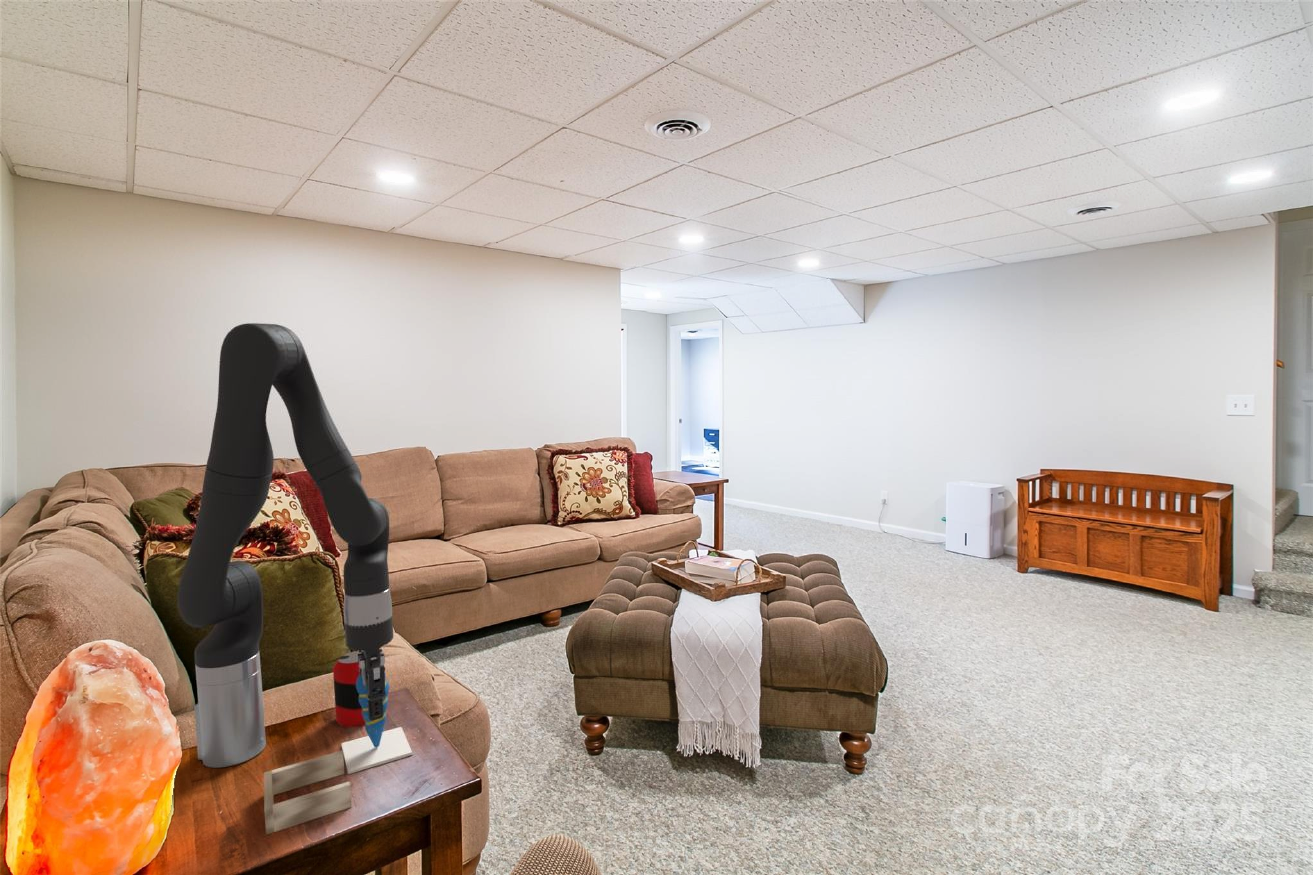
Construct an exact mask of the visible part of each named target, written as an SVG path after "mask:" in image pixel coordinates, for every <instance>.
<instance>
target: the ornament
mask: <svg viewBox="0 0 1313 875" xmlns="http://www.w3.org/2000/svg"><path fill="white" fill-rule="evenodd" d="M366 679H367V680H368V678H366ZM356 689H357V691H358V693H359V703H360V705H361V707H362V708H363V710H362V715H363V718H364V720H365V722H366V724H364V725H365V732H366V733H367V736H369V738H370V739H371V741H372V743H373V745H374V747H379V745H380V740H381V736H382V733H383V732H384V729H385V725H386V722H387V713H386V711H387V709H388V707H389V697H388V696H389V695H388V694H389V692H390V684H389V682H388V679H387V675H386V674H385V692H386V695H385V697H383V717H382V718H381V719H377V720H373V721H371V720H370V719H369V712H368V699H367V698H366V695H367V689H366V686H364V685H363V682H362V673H361V674H360V675H359V676H358V678H357V681H356ZM377 690H379V687H378V688H374V689H373V690H372V692H373V691H377Z"/></svg>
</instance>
